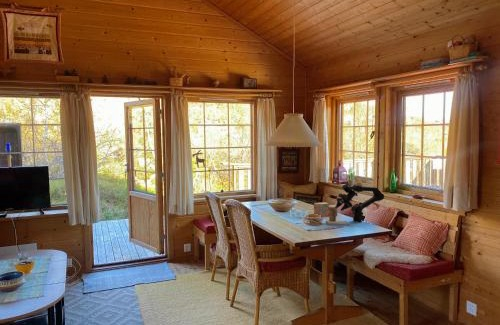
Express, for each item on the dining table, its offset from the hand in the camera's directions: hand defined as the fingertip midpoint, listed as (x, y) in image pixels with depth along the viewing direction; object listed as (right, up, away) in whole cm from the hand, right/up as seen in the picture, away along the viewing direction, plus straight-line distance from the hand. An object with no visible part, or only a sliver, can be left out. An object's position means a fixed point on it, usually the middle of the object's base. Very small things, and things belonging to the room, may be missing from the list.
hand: (338, 209), depth 330 cm
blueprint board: (-1, -12, -2) cm, 12 cm away
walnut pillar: (-5, -11, -1) cm, 12 cm away
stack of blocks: (-5, -10, +29) cm, 31 cm away
